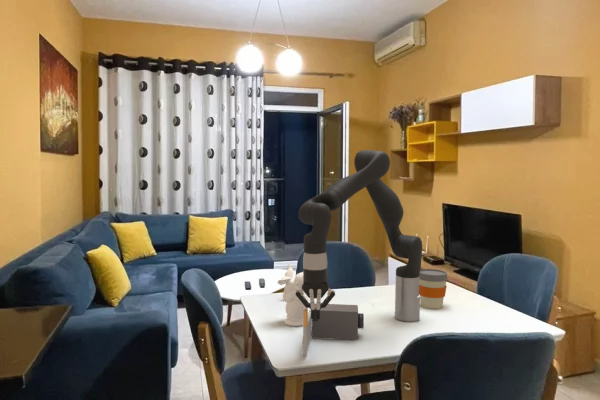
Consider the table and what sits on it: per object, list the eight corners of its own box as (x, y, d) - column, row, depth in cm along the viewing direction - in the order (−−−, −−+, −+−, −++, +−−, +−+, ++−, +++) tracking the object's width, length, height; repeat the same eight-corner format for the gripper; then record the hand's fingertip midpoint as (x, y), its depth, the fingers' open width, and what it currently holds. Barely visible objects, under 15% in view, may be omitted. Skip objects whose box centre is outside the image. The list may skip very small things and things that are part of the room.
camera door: (306, 355, 142) (306, 311, 141) (302, 355, 142) (303, 311, 141) (311, 335, 159) (312, 296, 158) (308, 335, 159) (309, 296, 158)
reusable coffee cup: (414, 308, 195) (415, 273, 194) (418, 300, 206) (419, 267, 205) (445, 311, 190) (446, 276, 189) (447, 303, 202) (448, 270, 201)
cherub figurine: (312, 325, 173) (314, 268, 171) (284, 331, 166) (285, 272, 164) (295, 316, 183) (296, 262, 181) (268, 321, 176) (269, 265, 174)
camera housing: (362, 332, 166) (363, 305, 165) (363, 340, 158) (364, 312, 157) (313, 330, 168) (313, 303, 167) (311, 338, 160) (312, 310, 159)
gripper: (293, 269, 139) (293, 324, 140) (336, 269, 138) (337, 324, 139) (294, 263, 146) (295, 316, 148) (335, 263, 146) (336, 316, 147)
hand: (315, 320), depth 144 cm, fingers closed
